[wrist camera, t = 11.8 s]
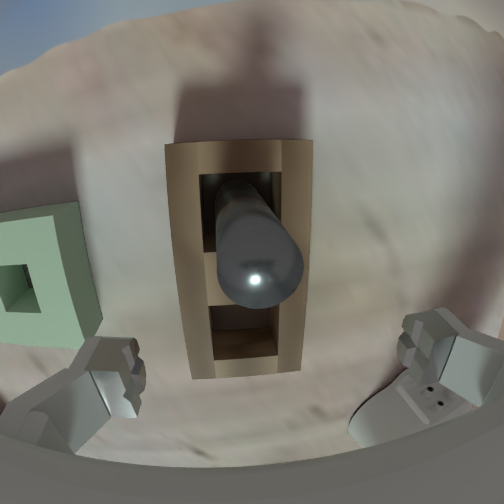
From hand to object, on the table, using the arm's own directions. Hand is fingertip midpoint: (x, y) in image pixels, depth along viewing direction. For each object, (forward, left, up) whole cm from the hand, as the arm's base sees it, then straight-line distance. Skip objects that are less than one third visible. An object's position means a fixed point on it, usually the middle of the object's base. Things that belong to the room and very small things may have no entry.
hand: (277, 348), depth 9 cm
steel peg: (0, 0, -19) cm, 19 cm away
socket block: (+20, +4, -19) cm, 28 cm away
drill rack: (0, +4, -19) cm, 19 cm away
